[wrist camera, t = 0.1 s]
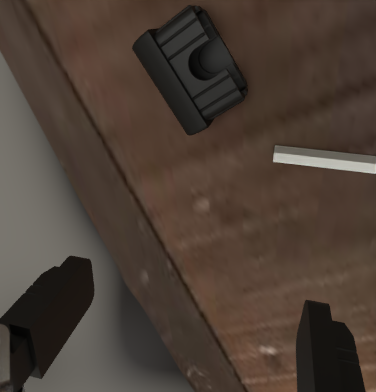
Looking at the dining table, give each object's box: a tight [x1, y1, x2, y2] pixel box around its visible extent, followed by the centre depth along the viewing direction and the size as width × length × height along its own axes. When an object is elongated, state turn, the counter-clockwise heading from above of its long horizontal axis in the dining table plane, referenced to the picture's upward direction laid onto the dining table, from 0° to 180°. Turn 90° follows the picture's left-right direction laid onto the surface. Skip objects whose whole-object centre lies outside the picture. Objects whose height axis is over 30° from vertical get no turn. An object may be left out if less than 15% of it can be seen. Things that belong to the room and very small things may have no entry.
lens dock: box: [273, 145, 376, 174], centre depth 33 cm, size 17×16×3 cm
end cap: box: [132, 5, 248, 135], centre depth 35 cm, size 10×7×7 cm
